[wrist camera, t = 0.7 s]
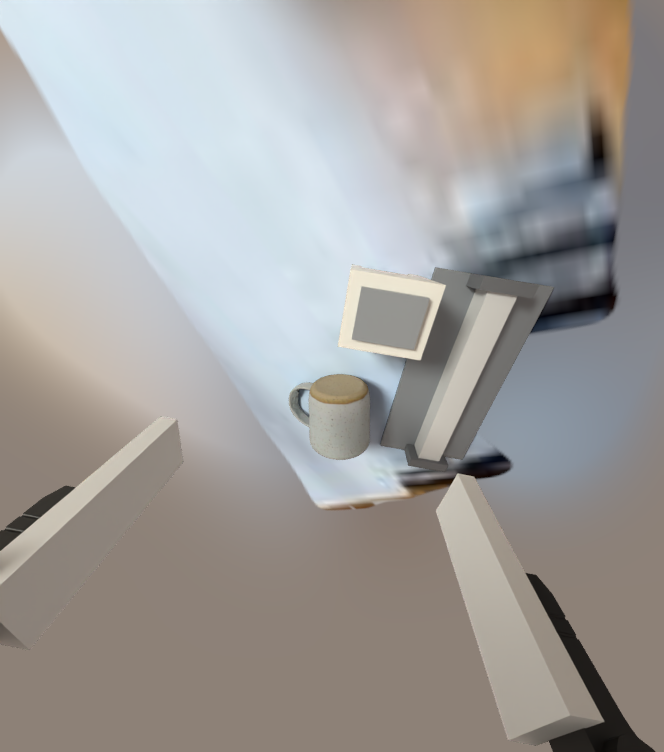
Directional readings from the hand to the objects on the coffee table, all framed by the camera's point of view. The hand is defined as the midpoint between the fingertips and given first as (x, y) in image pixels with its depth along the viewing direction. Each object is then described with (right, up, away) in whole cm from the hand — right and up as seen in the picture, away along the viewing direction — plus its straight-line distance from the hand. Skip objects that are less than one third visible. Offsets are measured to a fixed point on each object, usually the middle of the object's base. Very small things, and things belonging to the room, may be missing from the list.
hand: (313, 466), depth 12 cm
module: (+6, +13, +15) cm, 21 cm away
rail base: (+16, +4, +19) cm, 25 cm away
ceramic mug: (+1, +1, +22) cm, 22 cm away
